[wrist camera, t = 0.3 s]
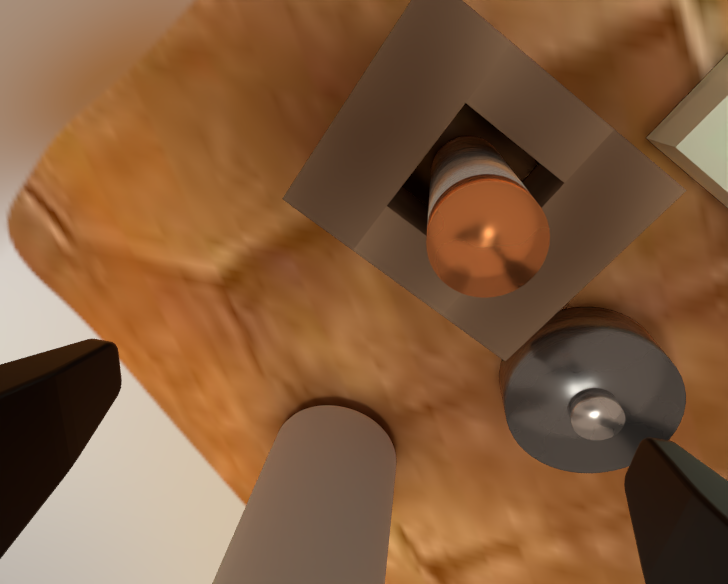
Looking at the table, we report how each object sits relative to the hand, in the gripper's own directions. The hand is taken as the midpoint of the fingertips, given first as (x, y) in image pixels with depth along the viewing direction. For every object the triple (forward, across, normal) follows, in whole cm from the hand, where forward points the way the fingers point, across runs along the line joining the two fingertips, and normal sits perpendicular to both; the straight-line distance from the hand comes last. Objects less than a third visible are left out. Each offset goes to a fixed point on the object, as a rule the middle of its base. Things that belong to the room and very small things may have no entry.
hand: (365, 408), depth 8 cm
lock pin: (+13, -2, -2) cm, 14 cm away
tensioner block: (+13, -2, -2) cm, 14 cm away
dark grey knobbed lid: (+14, -9, +6) cm, 17 cm away
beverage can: (+14, +2, +13) cm, 19 cm away
